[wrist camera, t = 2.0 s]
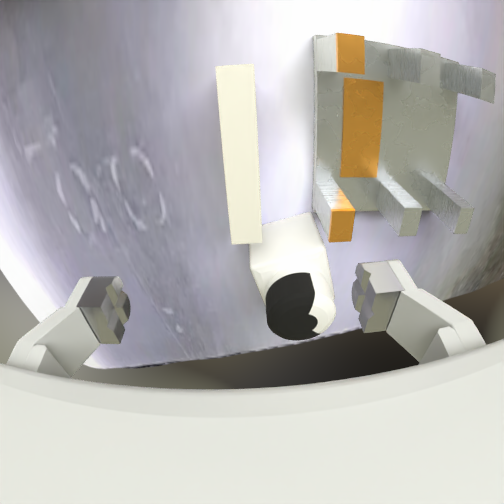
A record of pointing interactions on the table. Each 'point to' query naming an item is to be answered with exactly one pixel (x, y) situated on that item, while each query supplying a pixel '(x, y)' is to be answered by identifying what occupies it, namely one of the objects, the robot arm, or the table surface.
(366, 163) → the panel rack
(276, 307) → the medicine bottle
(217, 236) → the table surface
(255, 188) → the panel
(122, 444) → the robot arm
